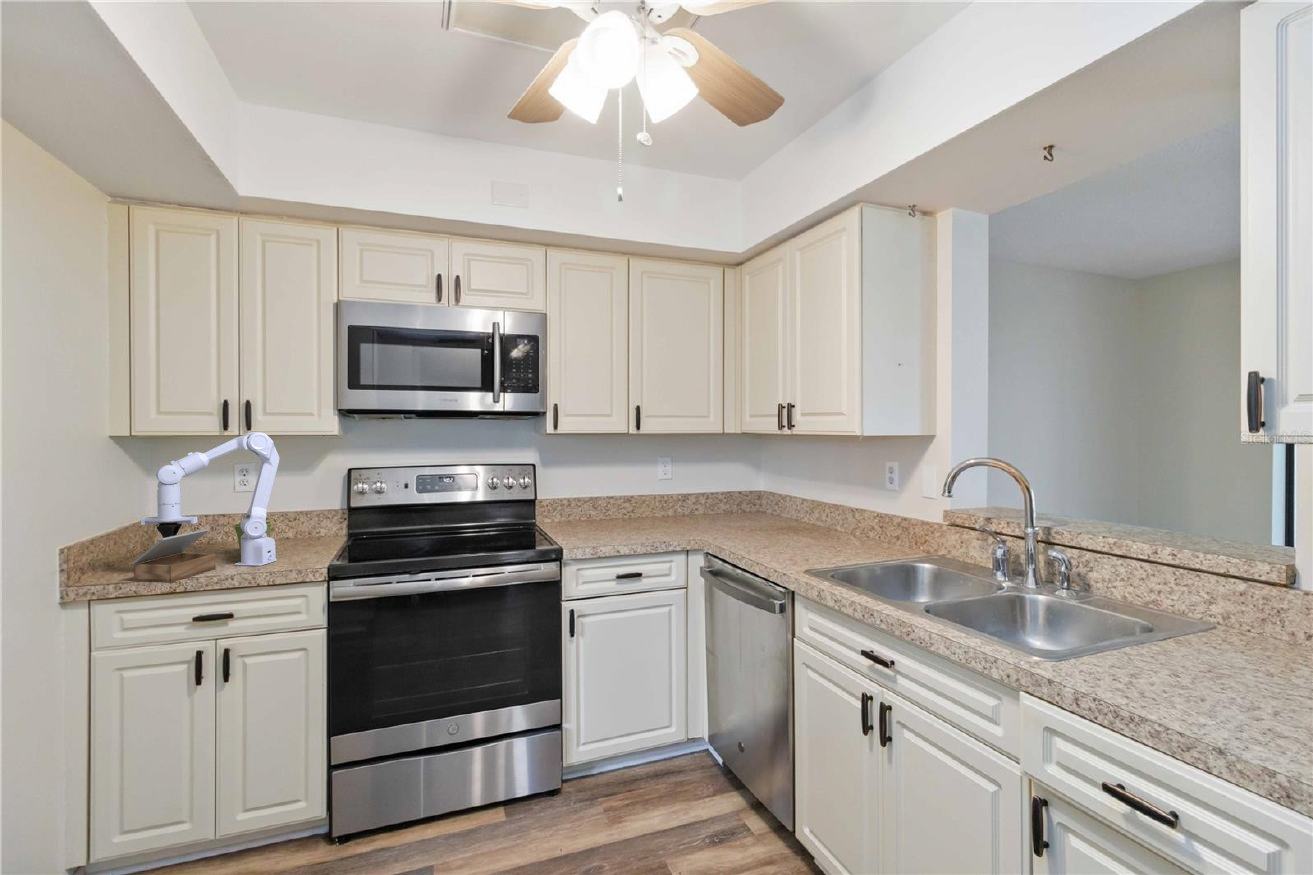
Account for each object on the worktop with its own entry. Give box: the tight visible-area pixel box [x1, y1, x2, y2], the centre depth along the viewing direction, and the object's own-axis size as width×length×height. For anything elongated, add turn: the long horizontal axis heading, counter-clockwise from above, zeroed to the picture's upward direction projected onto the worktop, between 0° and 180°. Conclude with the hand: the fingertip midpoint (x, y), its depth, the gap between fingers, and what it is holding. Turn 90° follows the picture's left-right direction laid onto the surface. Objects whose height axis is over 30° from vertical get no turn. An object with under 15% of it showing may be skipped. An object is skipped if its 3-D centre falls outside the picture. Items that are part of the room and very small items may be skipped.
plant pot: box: [232, 521, 273, 554], centre depth 215 cm, size 12×12×11 cm
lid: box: [132, 528, 210, 565], centre depth 186 cm, size 12×16×1 cm
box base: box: [133, 552, 217, 583], centre depth 186 cm, size 12×16×5 cm
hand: (169, 547), depth 187 cm, fingers closed, pressing on lid
